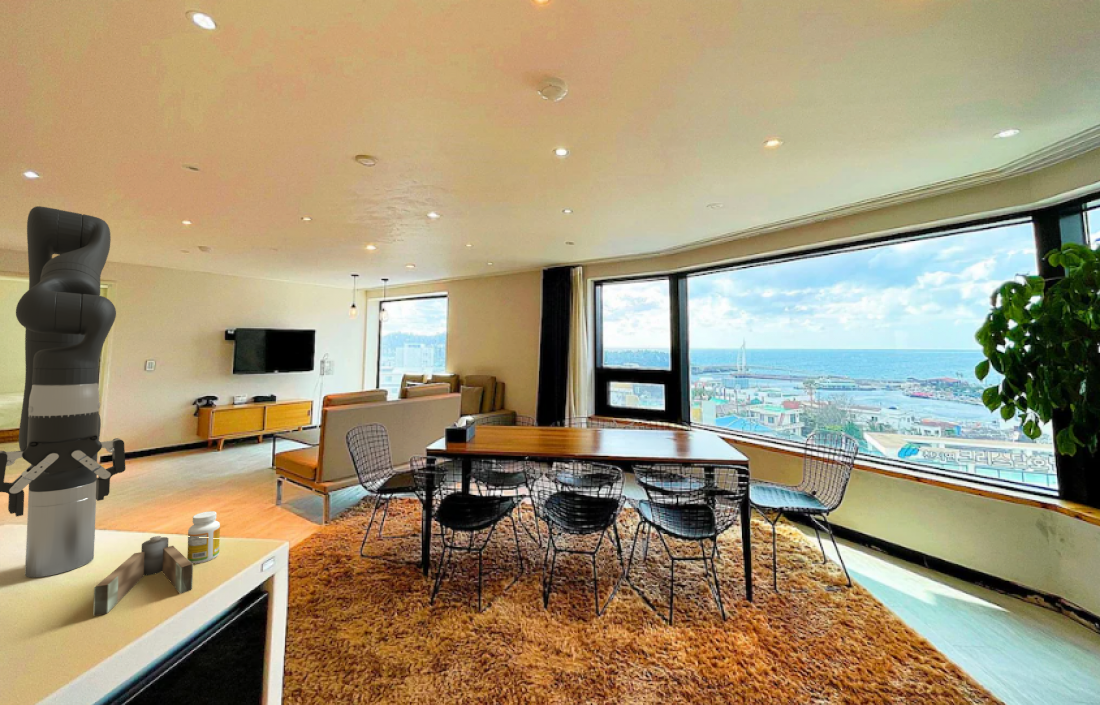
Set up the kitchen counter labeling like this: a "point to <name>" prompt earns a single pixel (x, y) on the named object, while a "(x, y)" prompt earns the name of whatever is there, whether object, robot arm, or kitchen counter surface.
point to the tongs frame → (167, 563)
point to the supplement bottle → (203, 547)
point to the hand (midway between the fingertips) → (61, 506)
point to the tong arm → (118, 584)
